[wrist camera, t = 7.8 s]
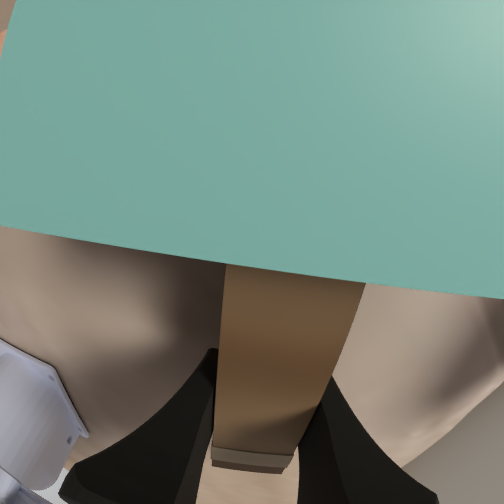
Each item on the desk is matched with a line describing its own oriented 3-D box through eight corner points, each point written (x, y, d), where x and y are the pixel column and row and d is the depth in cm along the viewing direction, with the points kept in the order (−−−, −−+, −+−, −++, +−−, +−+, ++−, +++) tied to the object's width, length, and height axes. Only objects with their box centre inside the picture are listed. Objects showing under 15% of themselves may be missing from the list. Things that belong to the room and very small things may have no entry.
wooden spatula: (283, 407, 13) (282, 475, 9) (224, 400, 13) (210, 466, 10) (363, 5, 6) (404, -51, 3) (274, -12, 7) (271, -81, 3)
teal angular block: (418, 200, 9) (561, 304, 3) (164, 160, 9) (-4, 224, 3) (435, 95, 7) (597, 90, 1) (177, 49, 8) (31, -36, 1)
